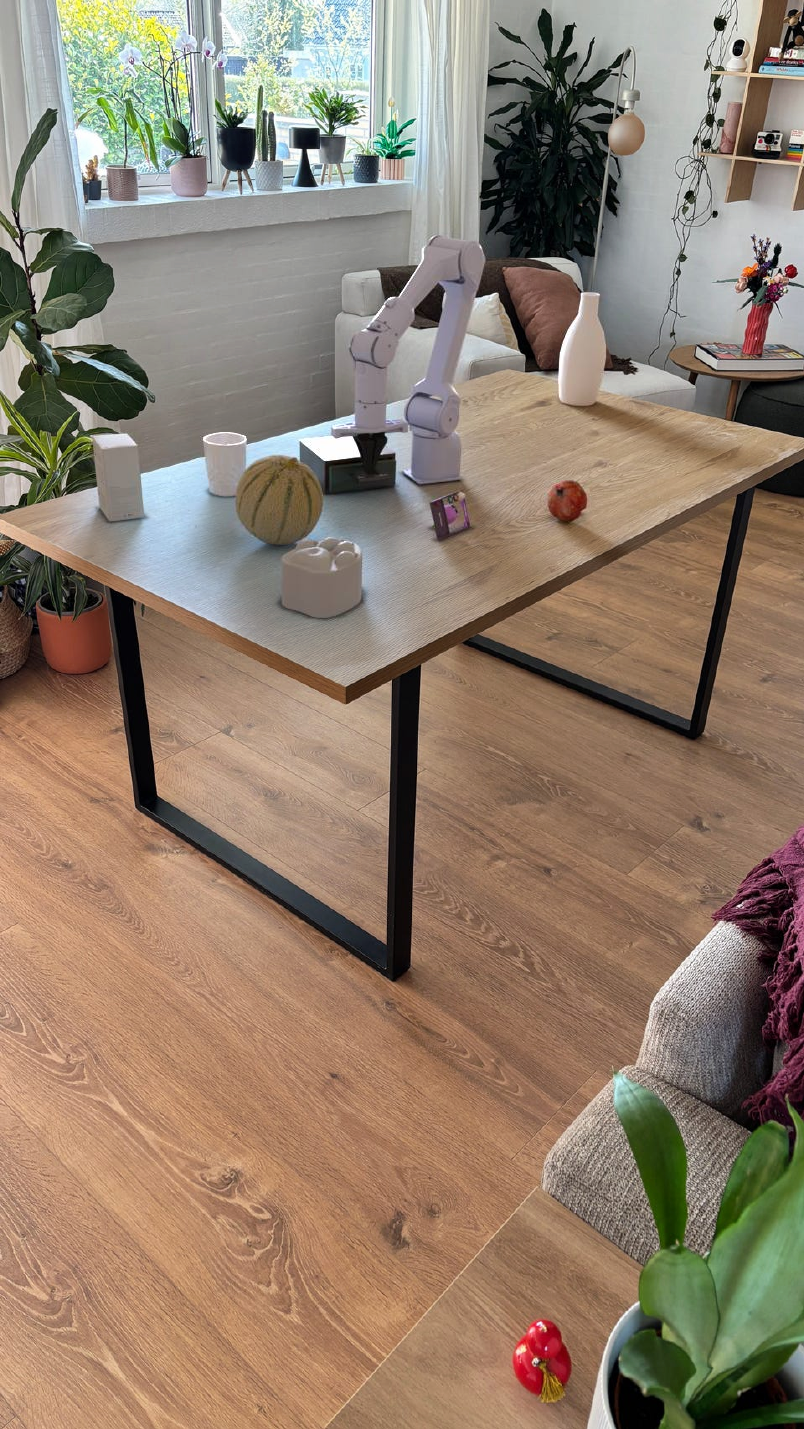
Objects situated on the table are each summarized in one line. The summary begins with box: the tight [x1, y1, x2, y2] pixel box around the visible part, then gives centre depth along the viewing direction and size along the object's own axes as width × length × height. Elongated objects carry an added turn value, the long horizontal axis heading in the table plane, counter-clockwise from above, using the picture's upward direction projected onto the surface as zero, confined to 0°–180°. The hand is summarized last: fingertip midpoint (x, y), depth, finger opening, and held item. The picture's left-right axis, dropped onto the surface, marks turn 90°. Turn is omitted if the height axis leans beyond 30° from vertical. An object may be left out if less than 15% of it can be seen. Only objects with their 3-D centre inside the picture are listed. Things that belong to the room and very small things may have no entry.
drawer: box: [328, 458, 397, 492], centre depth 209 cm, size 17×13×5 cm
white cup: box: [202, 432, 247, 497], centre depth 203 cm, size 8×8×10 cm
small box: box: [91, 433, 145, 522], centre depth 191 cm, size 8×6×13 cm
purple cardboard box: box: [429, 489, 471, 541], centre depth 191 cm, size 7×5×9 cm
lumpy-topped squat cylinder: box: [280, 536, 363, 619], centre depth 164 cm, size 10×13×9 cm
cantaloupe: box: [234, 454, 324, 546], centre depth 181 cm, size 15×15×15 cm
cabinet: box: [298, 436, 397, 495], centre depth 212 cm, size 14×15×7 cm
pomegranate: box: [546, 479, 588, 523], centre depth 198 cm, size 7×7×10 cm
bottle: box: [558, 291, 607, 407], centre depth 264 cm, size 11×11×25 cm
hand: (368, 473), depth 203 cm, fingers closed
